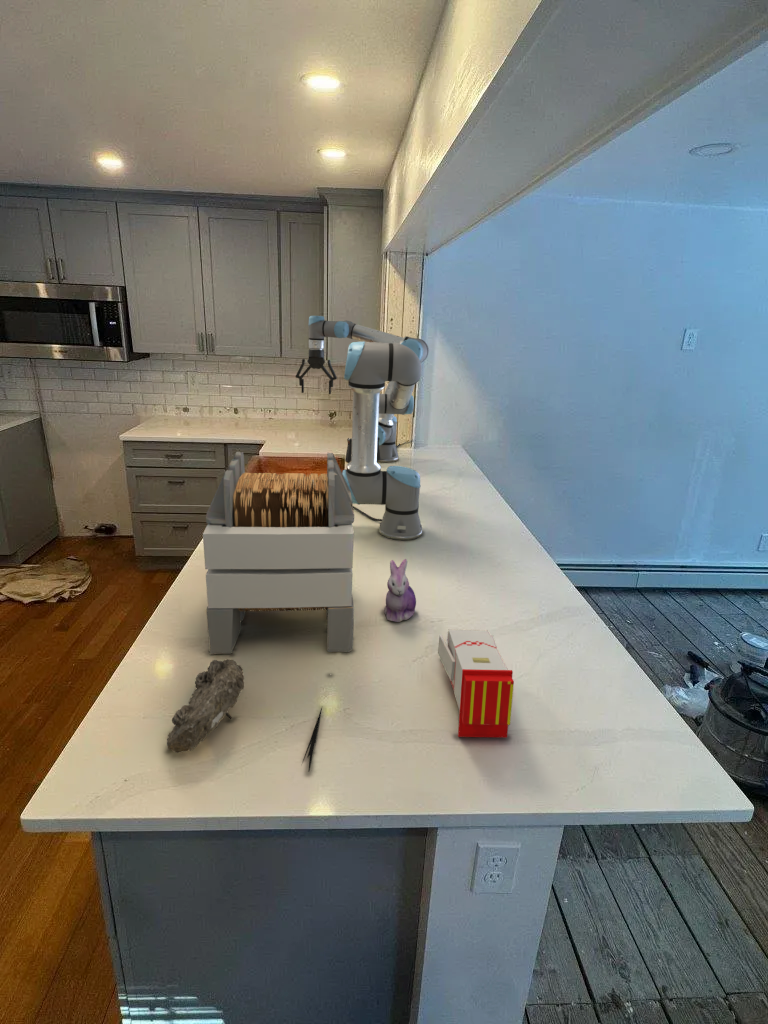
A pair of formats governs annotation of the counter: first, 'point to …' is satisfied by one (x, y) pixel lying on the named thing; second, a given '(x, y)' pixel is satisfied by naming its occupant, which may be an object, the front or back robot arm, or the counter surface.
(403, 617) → the figurine
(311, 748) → the feather
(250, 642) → the counter surface
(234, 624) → the record crate stand
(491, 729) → the toy
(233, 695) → the fossil
